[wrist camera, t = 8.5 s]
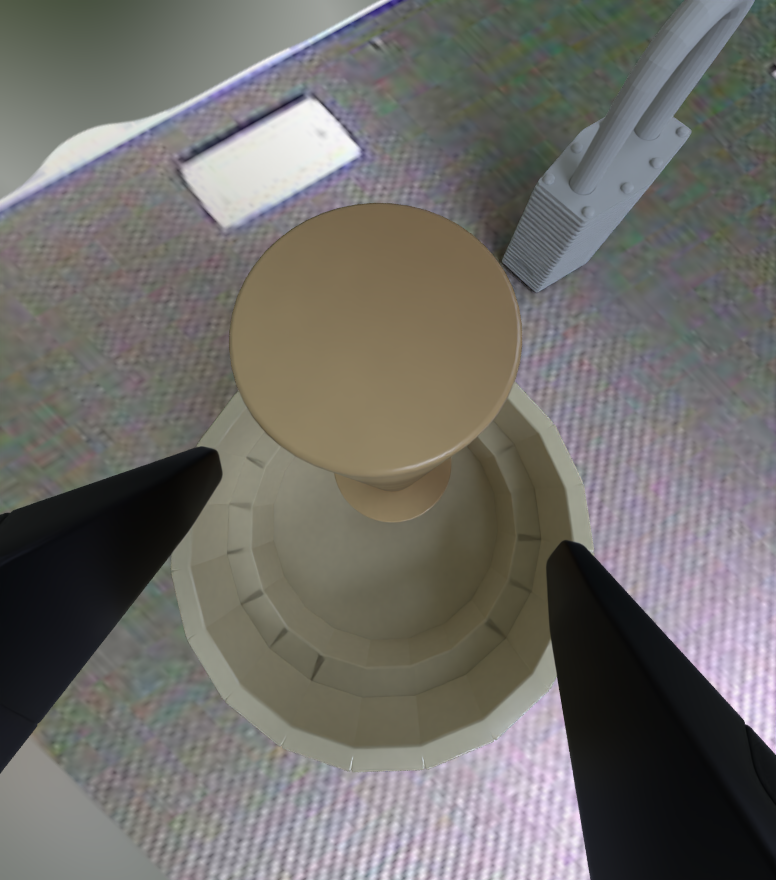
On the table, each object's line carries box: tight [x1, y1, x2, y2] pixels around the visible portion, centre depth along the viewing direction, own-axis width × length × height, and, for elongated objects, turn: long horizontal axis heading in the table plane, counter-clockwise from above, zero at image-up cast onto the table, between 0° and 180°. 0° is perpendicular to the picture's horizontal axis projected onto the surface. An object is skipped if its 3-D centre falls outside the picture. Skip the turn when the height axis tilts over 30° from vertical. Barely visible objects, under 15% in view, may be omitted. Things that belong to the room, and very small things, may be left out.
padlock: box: [502, 0, 755, 292], centre depth 14 cm, size 7×4×10 cm, turn 131°
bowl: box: [171, 382, 594, 772], centre depth 13 cm, size 14×14×6 cm
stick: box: [229, 203, 522, 523], centre depth 9 cm, size 5×5×13 cm
